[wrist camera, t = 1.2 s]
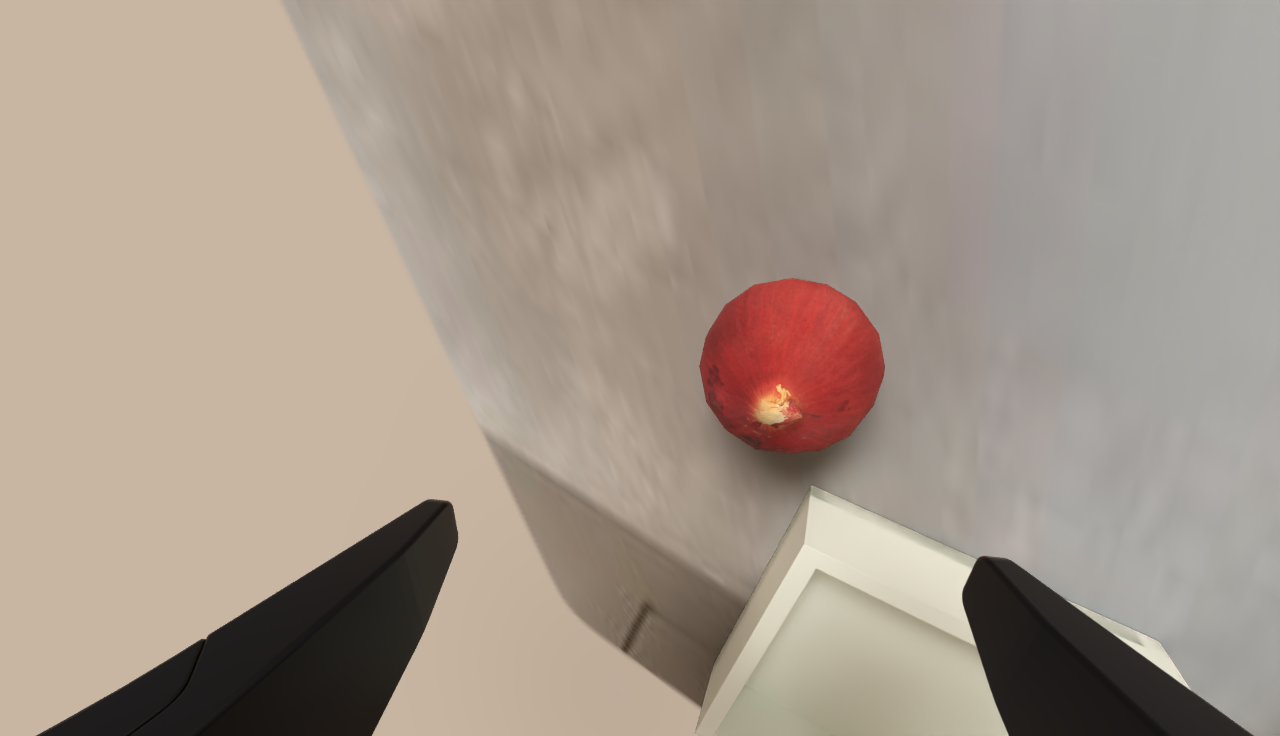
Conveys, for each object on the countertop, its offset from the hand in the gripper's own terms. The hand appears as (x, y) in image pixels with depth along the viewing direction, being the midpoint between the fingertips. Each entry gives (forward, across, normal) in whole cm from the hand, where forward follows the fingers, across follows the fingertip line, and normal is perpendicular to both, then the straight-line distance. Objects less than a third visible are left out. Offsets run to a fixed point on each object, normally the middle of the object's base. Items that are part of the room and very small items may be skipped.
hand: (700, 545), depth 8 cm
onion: (+13, -4, +1) cm, 13 cm away
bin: (+10, -10, +16) cm, 21 cm away
